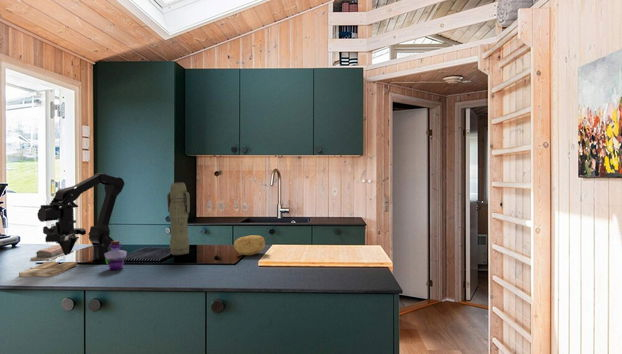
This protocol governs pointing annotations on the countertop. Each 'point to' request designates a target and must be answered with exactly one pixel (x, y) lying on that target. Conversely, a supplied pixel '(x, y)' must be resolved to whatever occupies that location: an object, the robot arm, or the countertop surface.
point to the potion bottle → (115, 256)
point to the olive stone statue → (179, 218)
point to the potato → (249, 244)
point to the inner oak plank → (66, 265)
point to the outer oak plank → (47, 265)
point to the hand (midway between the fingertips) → (67, 254)
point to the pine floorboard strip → (41, 272)
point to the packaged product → (49, 253)
